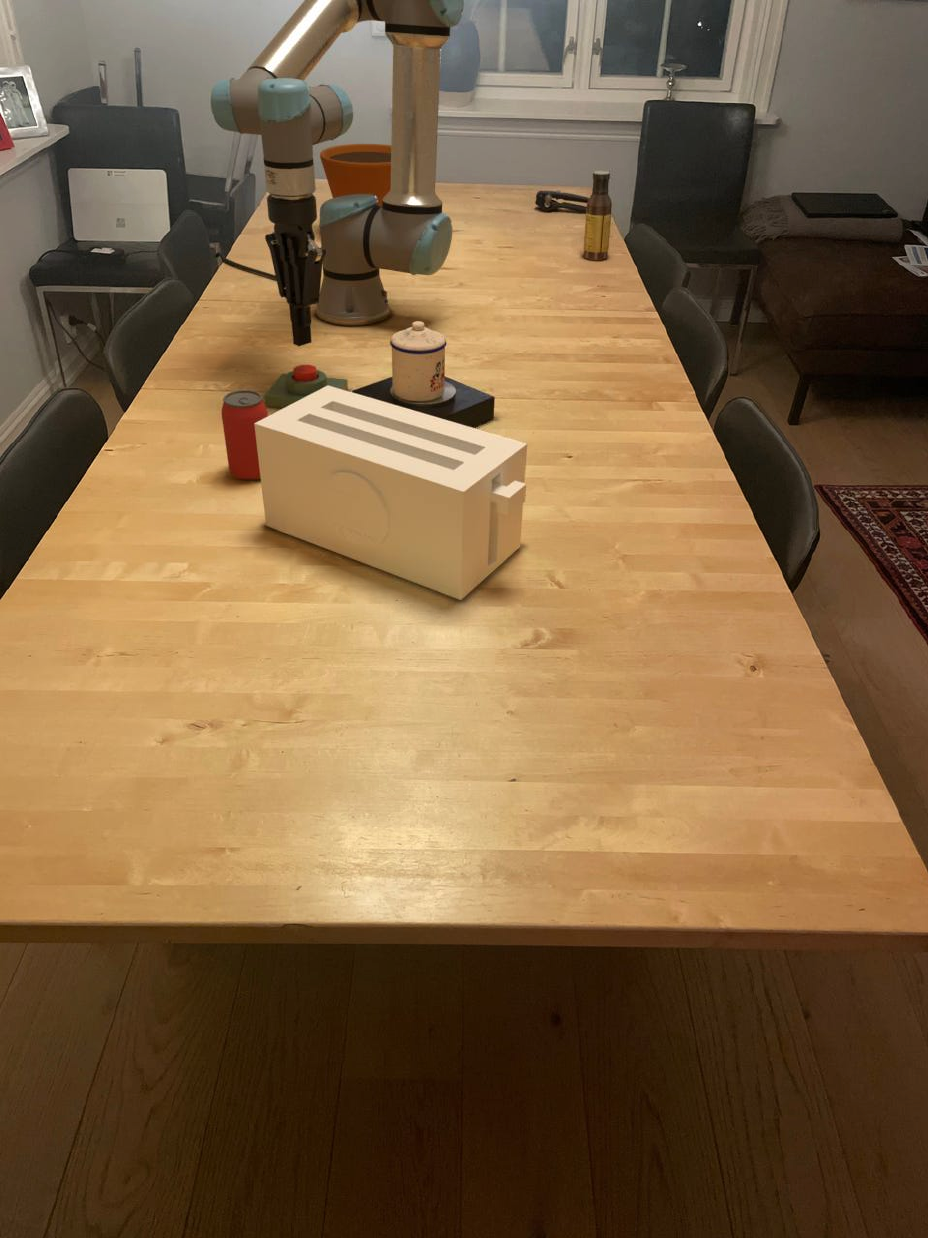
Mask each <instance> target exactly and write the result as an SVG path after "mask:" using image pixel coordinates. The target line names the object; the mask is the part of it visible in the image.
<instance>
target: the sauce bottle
mask: <svg viewBox="0 0 928 1238" xmlns="http://www.w3.org/2000/svg"><path fill="white" fill-rule="evenodd" d="M610 179H611V173H610V171H607V170H595V171H593V172H592V190H591V191H592V193H591V194H590V196H589V197H588V198H589V199H588V202H587V203H586V207H587V208H586V213H585V223H584V237H583V239H584V240H583V258H585V259H586V260H589V261H603V260H605V259H607V258H608V254H609V253H608V252H609V248H610V238H611V237H610V235H611V225H612V205H613V203H612V199H611V197H610V195H609V182H610Z"/></svg>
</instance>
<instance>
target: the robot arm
mask: <svg viewBox="0 0 928 1238" xmlns="http://www.w3.org/2000/svg"><path fill="white" fill-rule="evenodd" d="M464 5H465V0H303V2H302V3H301V4H300V5H299V6H298V8H297V9H296V10H295V11H294V12H293V14H292V15H291V16H290V18H289V19H288V20H287V21H286V22H285V23H284V25H282V27H281V28H280V30H279V31H278V32H277V33H276V35H274V37H273V38H272V39H271V40H270V41H269V43H268V44H267V45H266V46H265V48H264V49H263V50H262V51H261V52H260V53H259V55H258V56H257V57H256V58H255V60H254V61H253V62H252V63H251V65H250V66H249V67H248V68H247V69H246V71H245V72H244V73H243V74H242V75H241V77H240V78H238V79H235V78H234V77H230V78H222V79H219V80H217V82H215V84H214V85H213V87H212V90H211V94H210V109H211V110H210V111H211V113H212V115H213V118H214V119H213V120H214V121H215V123H216V124H217V126H218V127H220V129H223V130H225V131H228V132H234V133H239V134H241V135H244V134H245V135H255V136H256V135H257V136H261V146H262V155H263V158H262V159H263V165H264V175H265V176H264V177H265V189H266V190H265V191H266V192H267V193H268V194H269V195H268V196H267V197H266V204H267V205H266V206H267V214H268V215H267V216H268V220H269V222H271V223H272V224H274V226H273V231H272V232H271V233H267V234H265V235H264V236H265V237H264V239H265V242H266V244H267V247H268V250H269V252H270V258H271V262H272V267H273V271H274V274H272V273H269V272H266V271H263V270H259V269H257V268H253V267H249V266H247V265H243V264H241V263H238V262H235V261H233V260H231V259H228V258H226V257H225V255H223V253H222V252H221V251H218V252H216V253H215V255H214V258H219V257H220V259H221V260H222V261H223V262H225V263H227V264H229V265H231V266H234V267H237V268H239V269H242V270H244V271H248V272H251V273H253V274H258V275H261V276H264V277H267V278H271V279H274V280H276V284H277V288H278V293H279V296H280V298H284V299H285V300H286V303H287V304H288V305H289V307H288V308H289V320H290V322H291V330H292V331H291V332H292V343H293V344H292V345H294V346H297V347H302V346H305V345H308V344H312V342H313V341H312V328H311V325H312V314H311V313H312V311H311V307H312V306H315V305H316V315H317V317H318V318H319V319H320V320H322V321H324V322H326V323H329V324H334V325H339V326H365V325H372V324H375V323H376V324H377V323H379V322H382V321H384V320H385V319H387V318H388V317H389V315H390V302H389V300H388V291H387V290H385V288H384V285H383V282H382V279H381V275H380V270H386V271H392V272H393V271H394V272H398V273H405V274H410V275H412V276H416V275H418V276H433V275H435V274H436V273H438V272H439V271H440V270H441V268H442V267H443V265H444V264H445V262H446V260H447V257H448V256H449V255H448V254H449V252H450V249H451V244H452V239H453V224H452V219H451V217H450V216H449V215H447V214H446V213H444V212H443V201H442V200H441V198H440V196H438V194H437V193H436V180H437V179H436V178H437V177H436V176H437V151H438V130H439V129H438V125H439V105H440V104H439V103H440V77H441V55H442V53H441V52H442V48H443V46H444V45H445V44H446V43H447V42H448V41H449V40H450V38H451V28H454V27H455V26H457V25H458V24H459V23H460V21H461V20H462V16H463V15H462V13H463V11H464ZM369 21H374V22H375V21H376V22H383V23H384V35H385V37H386V38H387V39H388V40H389V42H390V43H391V44H392V45H391V46H392V86H391V87H392V91H391V95H392V96H391V98H392V99H391V142H390V143H391V144H390V145H391V189H390V191H389V192H388V194H387V195H386V196H385V197H384V198H383V206H378V203H379V201H378V200H377V197H376V196H375V195H372V194H355V195H346V196H341V197H336V198H333V197H332V198H330V199H327V200H325V201H324V202H323V203H322V204H321V205H320V208H319V224H318V227H319V233H320V246H319V245H318V244H317V243H316V241H315V240H316V237H315V233H314V230H313V224H314V223H315V222H316V221H317V220H318V210H317V198H316V196H315V194H314V193H315V192H316V190H317V189H316V176H315V163H314V149H313V148H314V147H313V146H314V145H315V146H316V145H318V144H321V143H322V144H323V143H324V142H328V141H334V140H336V139H337V138H339V137H341V136H343V135H345V134H346V133H347V132H348V131H349V130H350V128H351V127H352V124H353V121H354V114H355V113H354V107H353V103H352V101H351V98H350V97H349V95H348V94H347V92H346V91H345V90H344V89H343V88H342V87H340V86H338V85H336V84H319V85H317V86H309V85H308V83H307V82H306V81H305V80H306V79H307V77H309V75H310V74H311V72H312V71H313V70H314V69H315V67H316V66H317V65H318V63H319V62H320V61H321V59H322V58H324V55H326V53H327V52H328V51H329V50H330V48H331V47H332V45H334V43H335V42H336V40H337V39H339V37H340V35H341V34H344V33H347V32H351V31H352V30H353V29H354V27H355V26H356V25H357V24H358V23H362V22H369Z"/></svg>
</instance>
